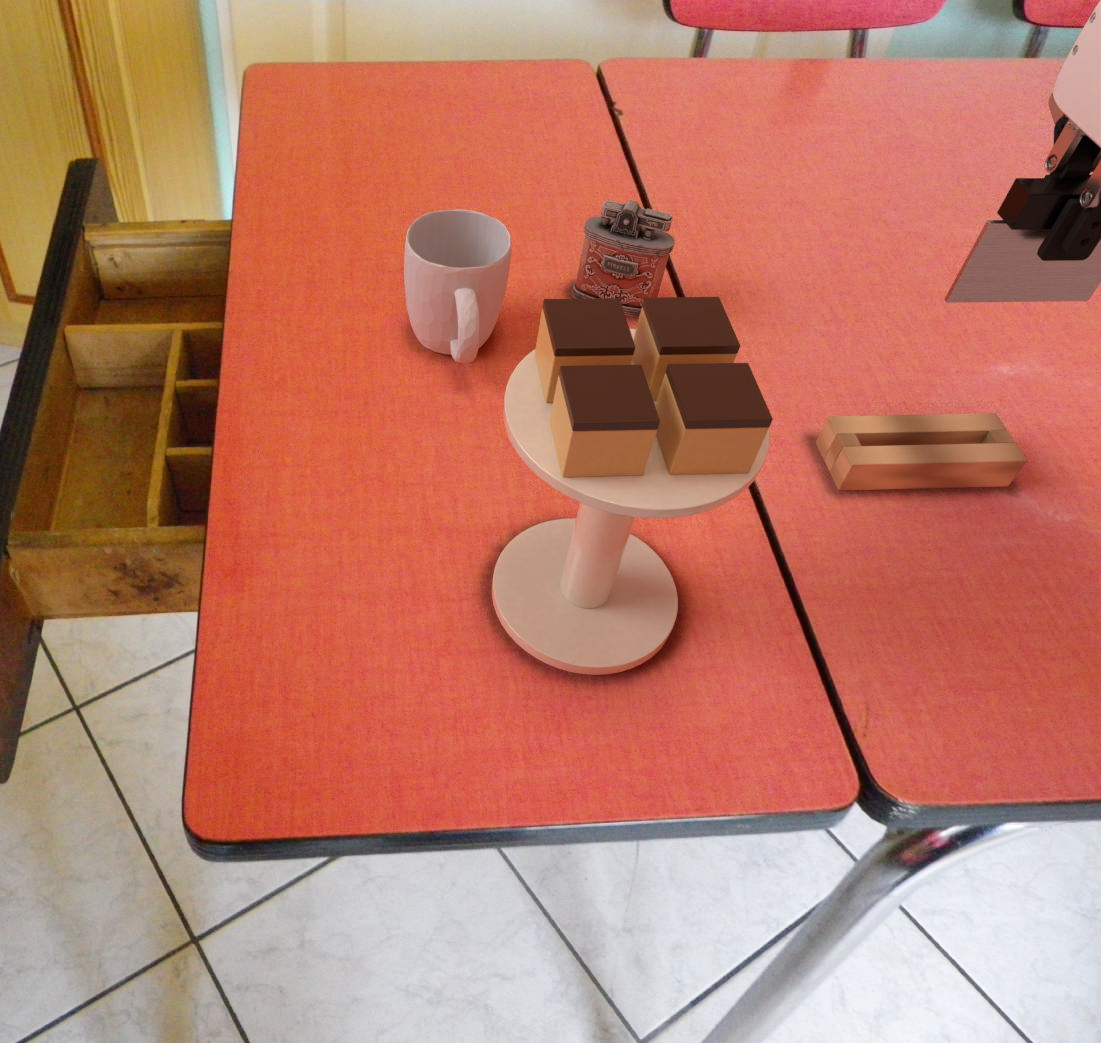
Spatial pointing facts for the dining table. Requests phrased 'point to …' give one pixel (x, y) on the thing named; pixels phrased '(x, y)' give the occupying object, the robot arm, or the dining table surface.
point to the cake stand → (594, 549)
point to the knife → (1026, 250)
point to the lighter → (624, 255)
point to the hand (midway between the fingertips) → (1050, 243)
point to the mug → (455, 279)
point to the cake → (648, 387)
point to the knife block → (919, 451)
